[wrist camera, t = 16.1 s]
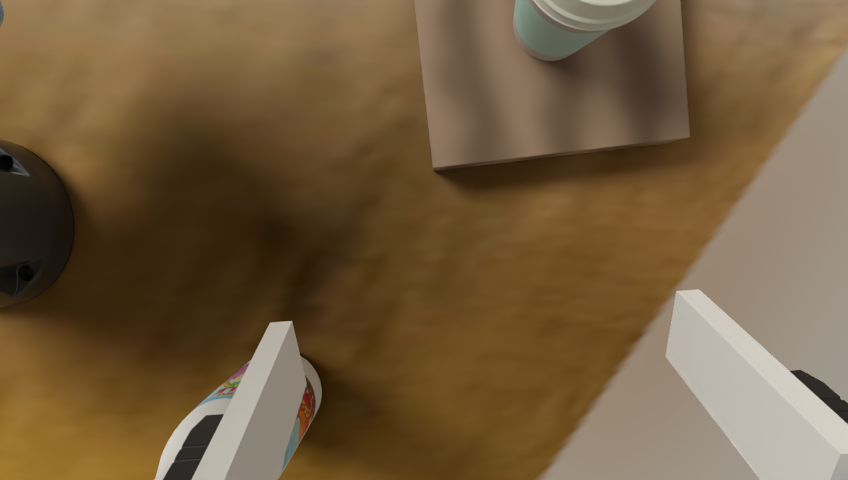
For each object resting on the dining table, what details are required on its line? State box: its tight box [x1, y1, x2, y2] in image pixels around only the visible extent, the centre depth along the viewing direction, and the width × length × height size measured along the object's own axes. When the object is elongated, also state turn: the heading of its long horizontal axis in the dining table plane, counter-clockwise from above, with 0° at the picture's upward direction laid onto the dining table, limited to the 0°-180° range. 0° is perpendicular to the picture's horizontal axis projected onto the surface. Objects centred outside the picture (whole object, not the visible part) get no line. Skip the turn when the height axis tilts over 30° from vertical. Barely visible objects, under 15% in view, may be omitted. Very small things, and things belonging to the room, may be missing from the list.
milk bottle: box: [155, 356, 322, 480], centre depth 32 cm, size 8×8×20 cm
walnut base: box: [414, 0, 690, 171], centre depth 37 cm, size 20×20×4 cm
